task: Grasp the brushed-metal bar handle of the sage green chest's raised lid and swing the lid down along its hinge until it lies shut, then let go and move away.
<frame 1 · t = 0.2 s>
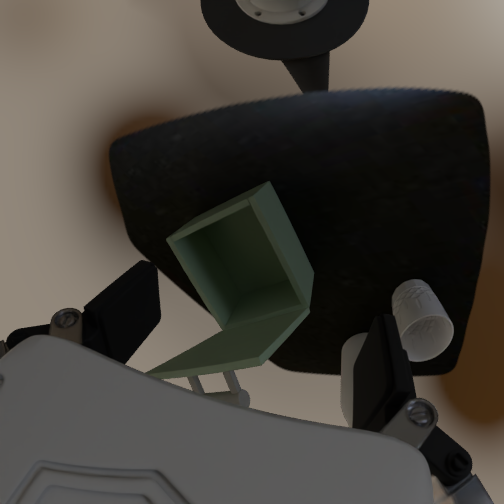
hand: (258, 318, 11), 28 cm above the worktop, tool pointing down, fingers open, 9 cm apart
milk bottle: (363, 347, 45), on the worktop
white cup: (411, 297, 39), on the worktop
chest: (253, 244, 42), on the worktop
lid: (242, 362, 28), point 17 cm above the worktop, hinge at 68.0°
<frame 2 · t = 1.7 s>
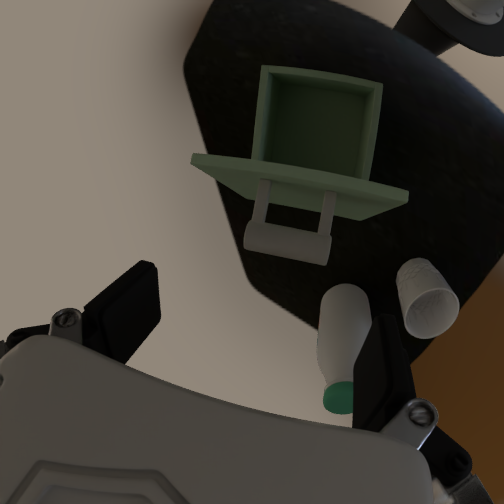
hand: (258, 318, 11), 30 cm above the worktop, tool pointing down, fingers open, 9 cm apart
milk bottle: (344, 302, 44), on the worktop
white cup: (415, 276, 39), on the worktop
chest: (317, 136, 35), on the worktop
lid: (297, 221, 23), point 17 cm above the worktop, hinge at 68.0°
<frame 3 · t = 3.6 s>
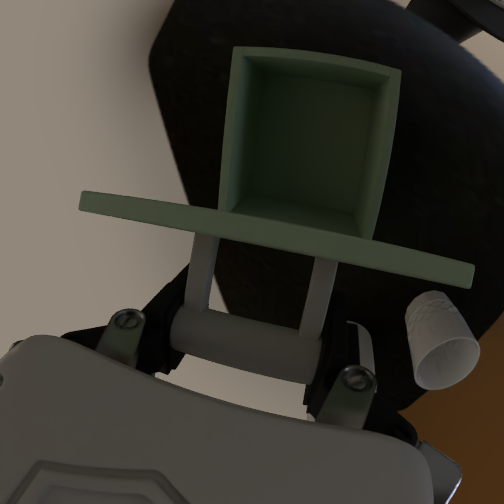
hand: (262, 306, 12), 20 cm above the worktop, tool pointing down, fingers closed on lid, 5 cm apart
milk bottle: (343, 340, 36), on the worktop
white cup: (427, 311, 32), on the worktop
chest: (311, 140, 27), on the worktop
lid: (274, 278, 15), point 17 cm above the worktop, hinge at 68.0°, touching gripper
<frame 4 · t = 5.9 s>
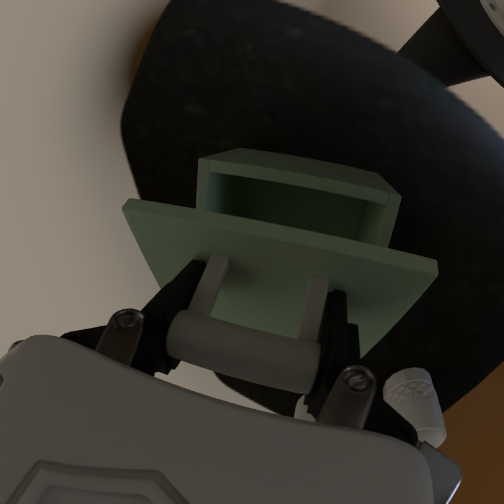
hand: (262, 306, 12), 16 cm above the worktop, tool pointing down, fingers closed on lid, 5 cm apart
white cup: (406, 382, 31), on the worktop
chest: (296, 234, 27), on the worktop
lid: (257, 356, 15), point 15 cm above the worktop, hinge at 27.0°, touching gripper
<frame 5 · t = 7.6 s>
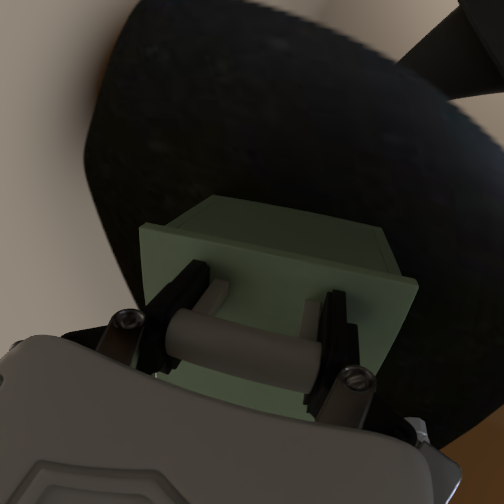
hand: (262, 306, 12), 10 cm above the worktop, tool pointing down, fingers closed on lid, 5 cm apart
white cup: (400, 428, 28), on the worktop
chest: (281, 295, 23), on the worktop
lid: (242, 404, 13), point 11 cm above the worktop, hinge at -0.2°, touching gripper
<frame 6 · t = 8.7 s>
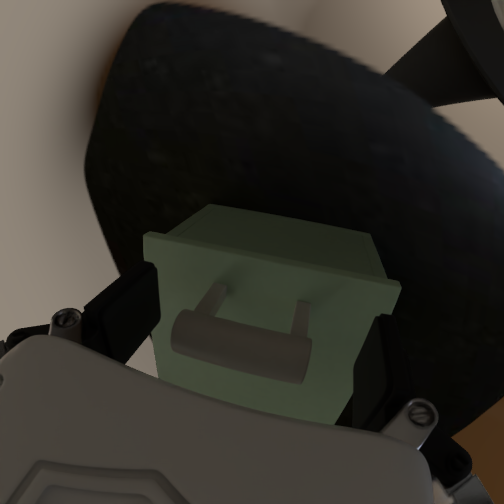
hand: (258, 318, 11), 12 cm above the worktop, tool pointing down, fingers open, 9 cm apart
chest: (275, 298, 25), on the worktop
lid: (240, 400, 14), point 11 cm above the worktop, hinge at -0.2°, touching chest
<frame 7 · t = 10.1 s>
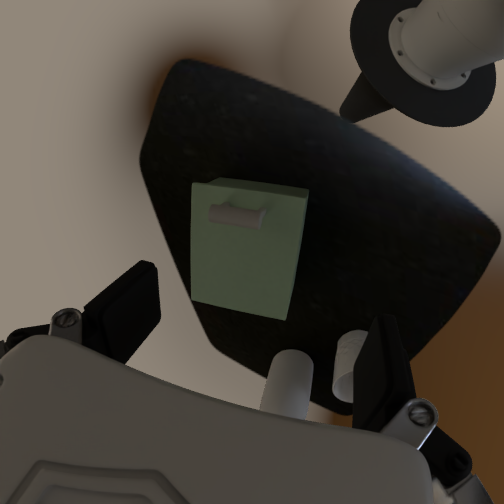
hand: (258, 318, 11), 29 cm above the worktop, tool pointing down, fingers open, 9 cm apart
milk bottle: (293, 362, 50), on the worktop
white cup: (356, 343, 46), on the worktop
chest: (258, 232, 42), on the worktop
lid: (236, 262, 32), point 11 cm above the worktop, hinge at -0.2°, touching chest
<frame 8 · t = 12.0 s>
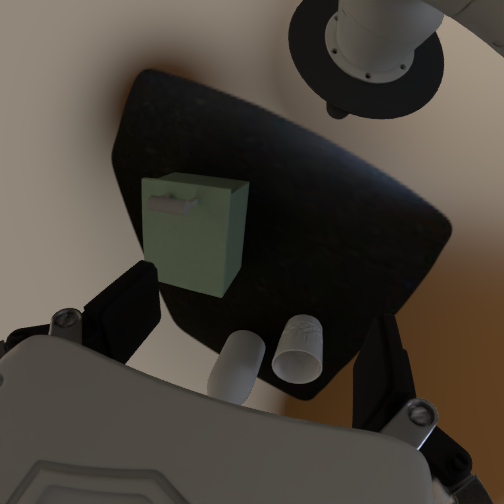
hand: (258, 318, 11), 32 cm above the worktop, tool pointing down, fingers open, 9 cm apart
milk bottle: (247, 343, 56), on the worktop
white cup: (303, 328, 51), on the worktop
chest: (207, 220, 47), on the worktop
lid: (174, 244, 36), point 11 cm above the worktop, hinge at -0.2°, touching chest
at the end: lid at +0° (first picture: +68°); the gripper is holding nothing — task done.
